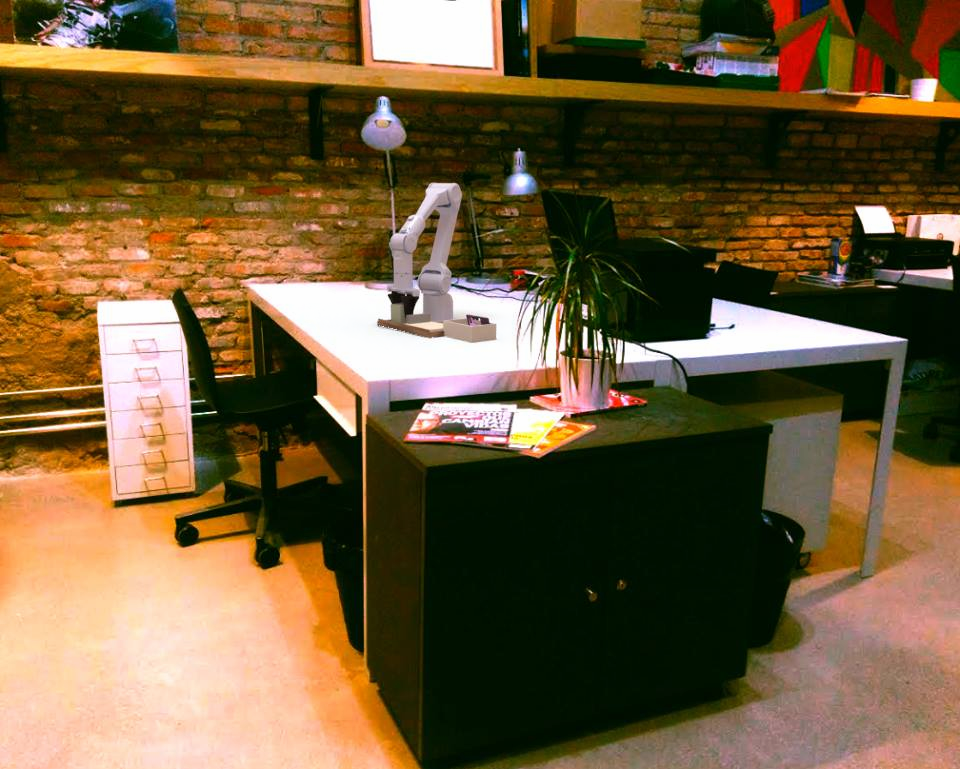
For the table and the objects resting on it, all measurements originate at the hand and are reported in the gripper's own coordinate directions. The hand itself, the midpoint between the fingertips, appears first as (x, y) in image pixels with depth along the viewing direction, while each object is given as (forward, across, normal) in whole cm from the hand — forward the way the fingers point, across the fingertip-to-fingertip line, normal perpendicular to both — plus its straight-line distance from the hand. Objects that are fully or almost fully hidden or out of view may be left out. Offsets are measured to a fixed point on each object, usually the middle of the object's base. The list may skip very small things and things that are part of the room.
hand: (403, 317), depth 264 cm
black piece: (+3, +28, +6) cm, 29 cm away
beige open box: (+3, +26, +5) cm, 27 cm away
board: (+3, +6, 0) cm, 7 cm away
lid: (+2, +13, +1) cm, 13 cm away
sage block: (+2, 0, 0) cm, 2 cm away
